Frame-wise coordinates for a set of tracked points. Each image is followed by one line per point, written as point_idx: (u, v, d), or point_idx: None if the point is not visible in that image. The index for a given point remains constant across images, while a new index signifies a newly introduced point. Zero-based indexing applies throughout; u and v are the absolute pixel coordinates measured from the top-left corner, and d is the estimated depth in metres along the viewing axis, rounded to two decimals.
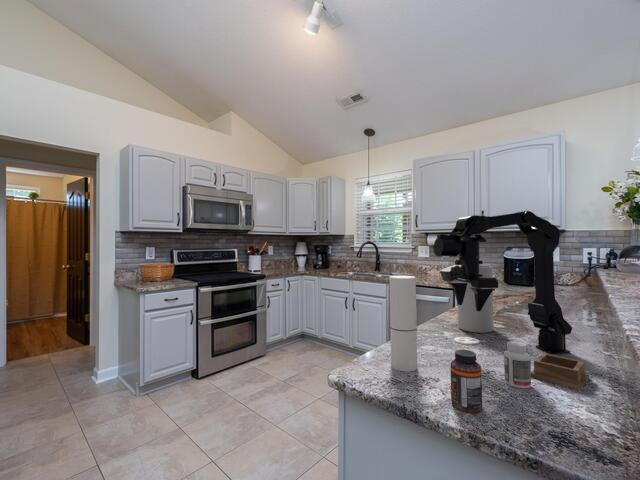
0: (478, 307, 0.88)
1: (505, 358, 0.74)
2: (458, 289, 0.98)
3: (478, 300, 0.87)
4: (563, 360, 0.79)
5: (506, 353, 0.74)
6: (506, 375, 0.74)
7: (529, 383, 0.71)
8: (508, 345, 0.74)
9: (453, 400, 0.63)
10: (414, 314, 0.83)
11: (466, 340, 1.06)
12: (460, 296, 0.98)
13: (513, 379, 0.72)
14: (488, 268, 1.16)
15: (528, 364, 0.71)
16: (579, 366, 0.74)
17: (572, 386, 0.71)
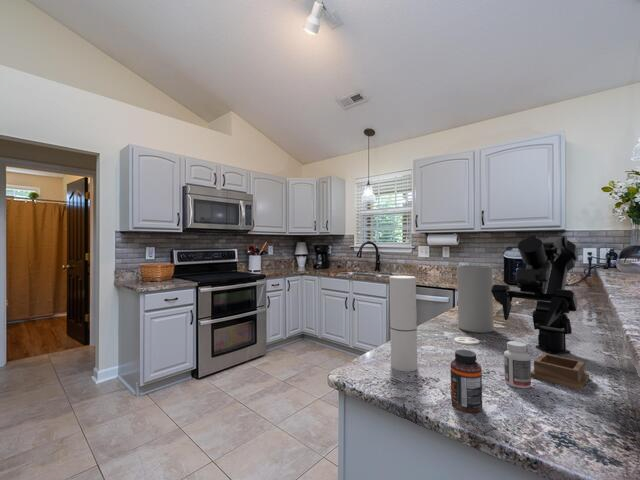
0: (548, 321, 0.76)
1: (505, 358, 0.74)
2: (507, 303, 0.85)
3: (553, 313, 0.76)
4: (563, 360, 0.79)
5: (506, 353, 0.74)
6: (506, 375, 0.74)
7: (529, 383, 0.71)
8: (508, 345, 0.74)
9: (453, 400, 0.63)
10: (414, 314, 0.83)
11: (466, 340, 1.06)
12: (508, 310, 0.84)
13: (513, 379, 0.72)
14: (488, 268, 1.16)
15: (528, 364, 0.71)
16: (579, 366, 0.74)
17: (572, 386, 0.71)
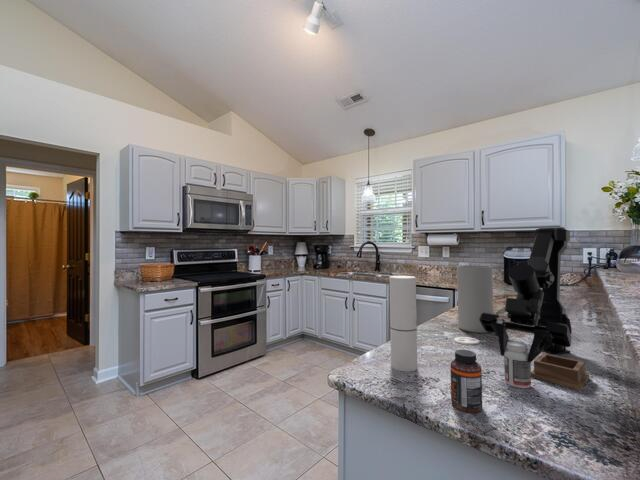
0: (531, 356, 0.71)
1: (505, 358, 0.74)
2: (504, 336, 0.78)
3: (536, 348, 0.71)
4: (563, 360, 0.79)
5: (506, 353, 0.74)
6: (506, 375, 0.74)
7: (529, 383, 0.71)
8: (508, 345, 0.74)
9: (453, 400, 0.63)
10: (414, 314, 0.83)
11: (466, 340, 1.06)
12: (504, 344, 0.76)
13: (513, 379, 0.72)
14: (488, 268, 1.16)
15: (528, 364, 0.71)
16: (579, 366, 0.74)
17: (572, 386, 0.71)
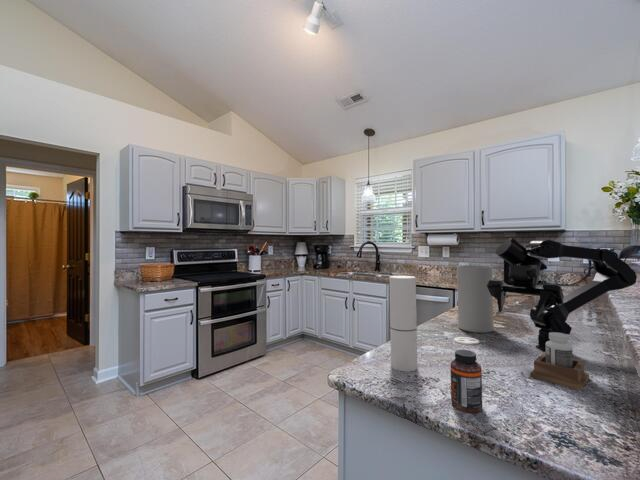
0: (538, 312, 0.85)
1: (547, 348, 0.78)
2: (501, 297, 0.94)
3: (542, 305, 0.85)
4: None
5: (548, 343, 0.77)
6: None
7: None
8: (550, 336, 0.77)
9: (453, 400, 0.63)
10: (414, 314, 0.83)
11: (466, 340, 1.06)
12: (501, 303, 0.93)
13: None
14: (488, 268, 1.16)
15: (570, 354, 0.75)
16: (579, 366, 0.74)
17: (572, 386, 0.71)
